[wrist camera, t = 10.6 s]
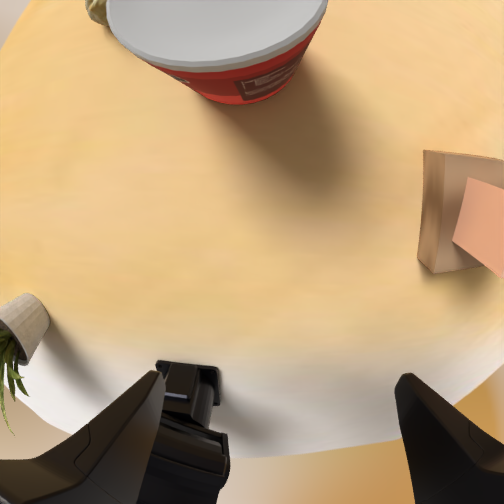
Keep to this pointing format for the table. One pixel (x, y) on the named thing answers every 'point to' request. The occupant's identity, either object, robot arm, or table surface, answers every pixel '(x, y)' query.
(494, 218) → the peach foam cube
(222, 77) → the canned food
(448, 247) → the walnut box
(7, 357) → the house plant
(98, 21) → the pastry
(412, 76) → the table surface
